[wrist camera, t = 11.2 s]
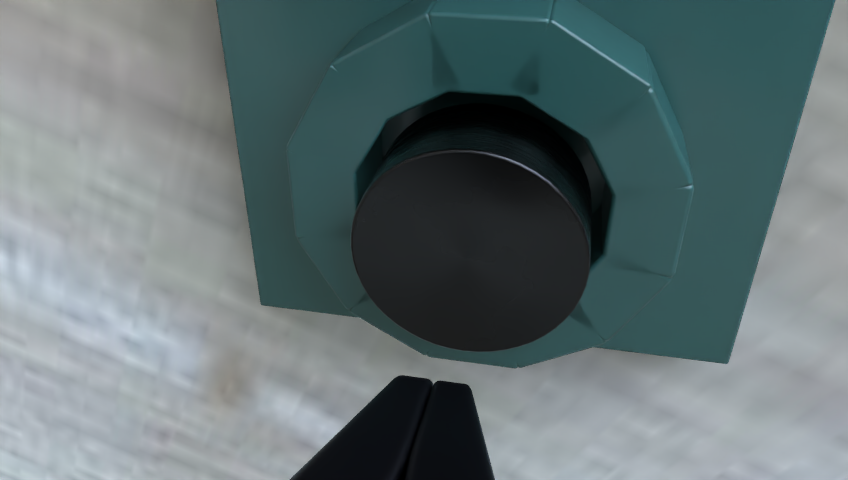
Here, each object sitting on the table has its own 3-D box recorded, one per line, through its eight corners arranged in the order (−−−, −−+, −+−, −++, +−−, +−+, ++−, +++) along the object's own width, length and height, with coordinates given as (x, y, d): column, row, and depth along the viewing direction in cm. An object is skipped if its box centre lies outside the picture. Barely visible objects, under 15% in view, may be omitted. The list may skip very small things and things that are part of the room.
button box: (823, -75, 12) (893, -24, 9) (717, 313, 16) (742, 431, 13) (243, -95, 14) (148, -57, 11) (286, 263, 18) (226, 359, 15)
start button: (605, 110, 11) (606, 161, 10) (578, 301, 13) (576, 367, 12) (374, 93, 12) (342, 138, 10) (381, 278, 14) (355, 338, 12)
